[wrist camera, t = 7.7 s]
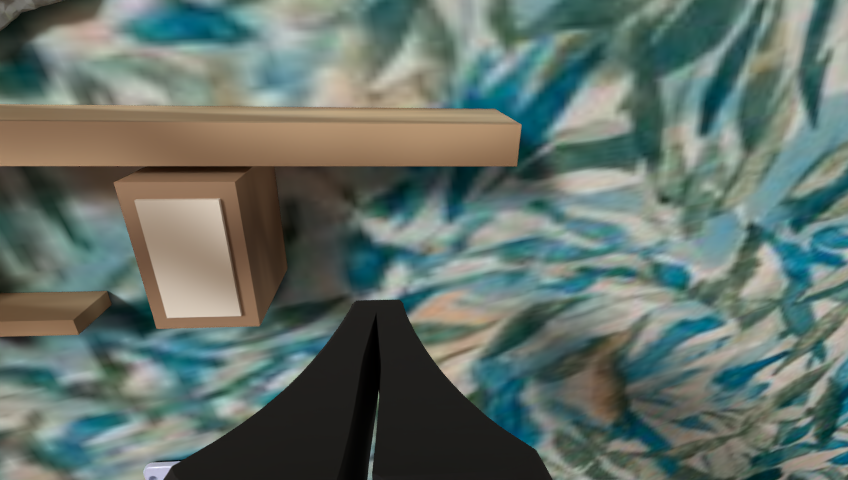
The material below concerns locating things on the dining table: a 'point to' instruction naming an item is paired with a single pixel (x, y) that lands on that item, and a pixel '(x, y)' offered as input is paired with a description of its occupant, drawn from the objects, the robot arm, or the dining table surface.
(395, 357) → the robot arm
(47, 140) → the wooden bracket
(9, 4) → the stone
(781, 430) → the dining table surface
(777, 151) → the dining table surface
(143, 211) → the cabinet block
